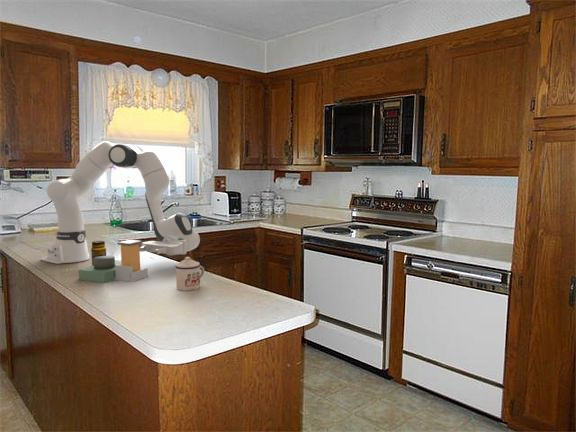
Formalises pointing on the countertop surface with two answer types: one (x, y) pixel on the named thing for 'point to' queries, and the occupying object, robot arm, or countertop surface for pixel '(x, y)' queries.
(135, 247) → the gray-capped orange pillar
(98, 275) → the green base with knob
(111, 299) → the countertop surface
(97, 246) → the condiment
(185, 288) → the teacup with lid
